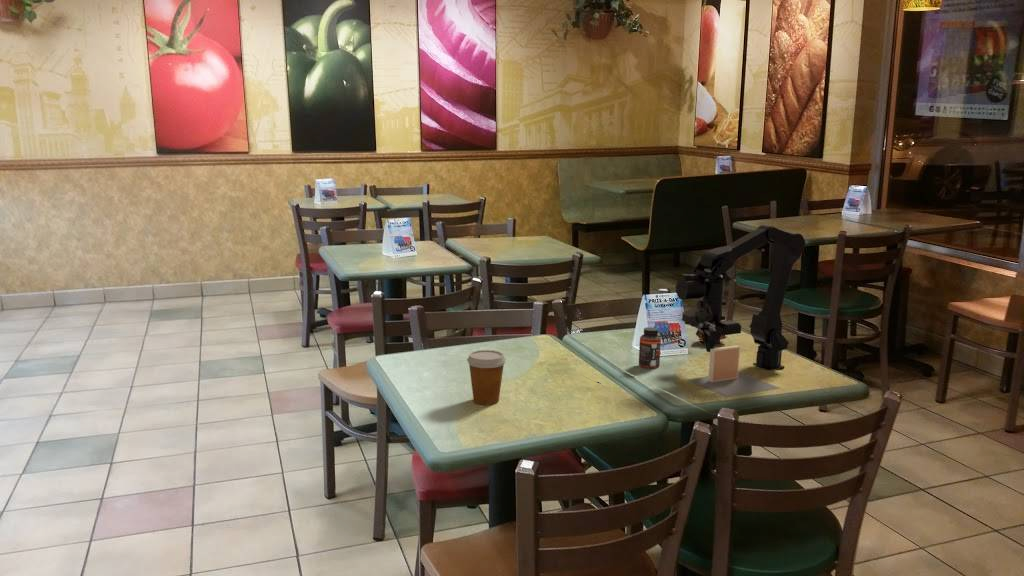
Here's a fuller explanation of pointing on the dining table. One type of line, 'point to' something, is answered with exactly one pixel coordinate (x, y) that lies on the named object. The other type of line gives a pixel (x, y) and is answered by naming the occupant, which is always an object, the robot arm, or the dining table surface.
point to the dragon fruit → (702, 337)
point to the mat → (734, 385)
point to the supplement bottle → (649, 348)
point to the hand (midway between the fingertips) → (708, 351)
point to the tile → (724, 363)
